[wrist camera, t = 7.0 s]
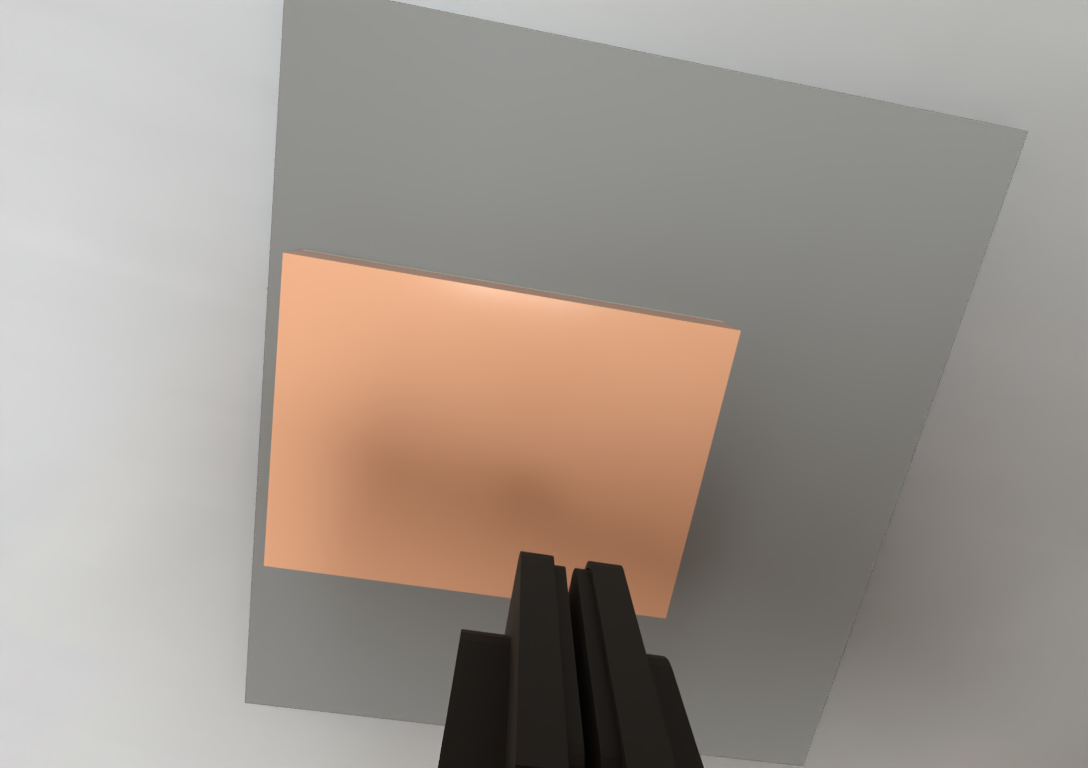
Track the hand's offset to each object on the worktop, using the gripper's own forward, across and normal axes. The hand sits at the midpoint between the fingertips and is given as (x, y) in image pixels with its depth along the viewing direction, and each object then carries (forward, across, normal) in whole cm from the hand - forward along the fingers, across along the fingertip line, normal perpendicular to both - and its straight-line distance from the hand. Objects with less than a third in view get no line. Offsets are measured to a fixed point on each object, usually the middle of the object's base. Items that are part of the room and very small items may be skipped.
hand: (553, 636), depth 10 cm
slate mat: (+10, -2, 0) cm, 10 cm away
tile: (+8, -4, 0) cm, 9 cm away
